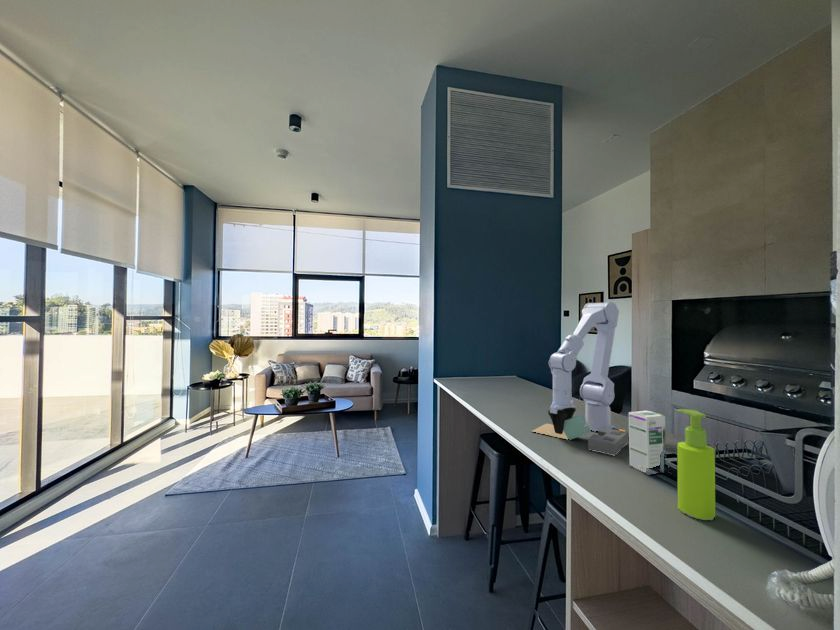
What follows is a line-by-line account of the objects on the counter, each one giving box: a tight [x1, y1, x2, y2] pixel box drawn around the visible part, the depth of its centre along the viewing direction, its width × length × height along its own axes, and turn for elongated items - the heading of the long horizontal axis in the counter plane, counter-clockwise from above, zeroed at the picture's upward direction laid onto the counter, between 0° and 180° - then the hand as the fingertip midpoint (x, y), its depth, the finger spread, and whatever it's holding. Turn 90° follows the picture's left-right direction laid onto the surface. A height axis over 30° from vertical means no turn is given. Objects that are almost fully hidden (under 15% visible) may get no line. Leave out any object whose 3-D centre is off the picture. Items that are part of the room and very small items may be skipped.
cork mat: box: [531, 422, 568, 439], centre depth 120 cm, size 12×12×1 cm
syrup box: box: [628, 410, 667, 472], centre depth 90 cm, size 6×6×14 cm
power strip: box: [587, 428, 629, 455], centre depth 106 cm, size 14×7×4 cm, turn 137°
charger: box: [563, 413, 593, 441], centre depth 112 cm, size 5×8×6 cm
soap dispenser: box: [676, 408, 716, 519], centre depth 71 cm, size 6×7×20 cm
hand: (562, 431), depth 116 cm, fingers closed on charger, 5 cm apart
